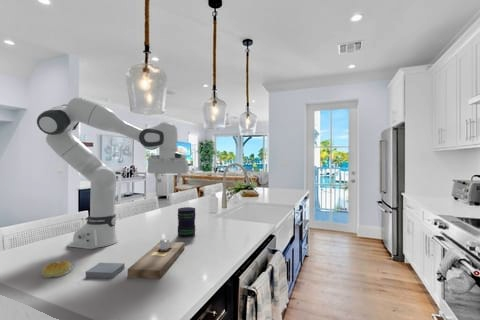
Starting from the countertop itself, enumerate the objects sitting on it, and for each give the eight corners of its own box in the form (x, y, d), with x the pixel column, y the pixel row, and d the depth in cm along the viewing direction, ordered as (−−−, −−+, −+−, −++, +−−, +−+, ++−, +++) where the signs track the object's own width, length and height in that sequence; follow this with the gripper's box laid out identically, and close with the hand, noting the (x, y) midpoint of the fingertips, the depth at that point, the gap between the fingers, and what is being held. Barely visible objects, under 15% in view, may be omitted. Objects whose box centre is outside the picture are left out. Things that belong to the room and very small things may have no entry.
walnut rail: (127, 277, 88) (127, 268, 88) (159, 248, 118) (160, 241, 118) (160, 278, 88) (160, 269, 88) (184, 248, 118) (184, 242, 118)
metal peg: (158, 258, 106) (158, 241, 106) (161, 254, 110) (162, 239, 110) (166, 258, 106) (167, 242, 106) (169, 255, 110) (169, 239, 110)
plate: (85, 277, 88) (85, 271, 88) (99, 267, 96) (99, 262, 96) (112, 278, 88) (112, 272, 88) (124, 268, 96) (124, 263, 96)
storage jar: (174, 235, 139) (174, 208, 139) (189, 231, 146) (189, 206, 146) (182, 239, 132) (183, 211, 132) (198, 235, 138) (198, 209, 138)
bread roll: (49, 269, 95) (50, 259, 95) (75, 268, 96) (75, 257, 97) (36, 279, 87) (36, 268, 87) (64, 278, 88) (64, 266, 88)
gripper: (145, 154, 121) (145, 182, 121) (186, 154, 120) (186, 183, 120) (150, 155, 127) (150, 181, 127) (189, 155, 126) (189, 182, 126)
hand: (168, 182), depth 123 cm, fingers open, 8 cm apart
